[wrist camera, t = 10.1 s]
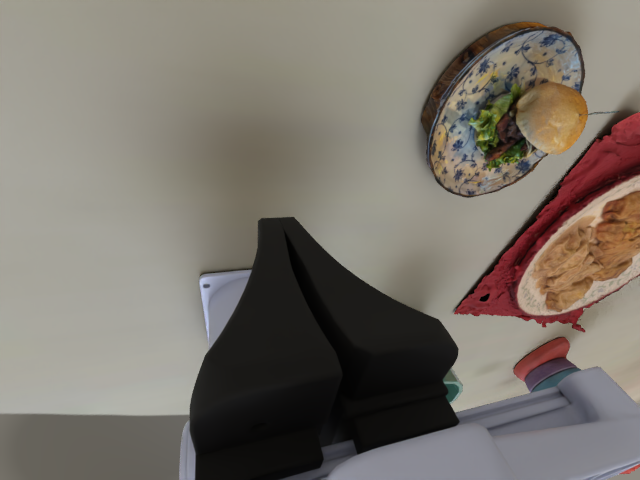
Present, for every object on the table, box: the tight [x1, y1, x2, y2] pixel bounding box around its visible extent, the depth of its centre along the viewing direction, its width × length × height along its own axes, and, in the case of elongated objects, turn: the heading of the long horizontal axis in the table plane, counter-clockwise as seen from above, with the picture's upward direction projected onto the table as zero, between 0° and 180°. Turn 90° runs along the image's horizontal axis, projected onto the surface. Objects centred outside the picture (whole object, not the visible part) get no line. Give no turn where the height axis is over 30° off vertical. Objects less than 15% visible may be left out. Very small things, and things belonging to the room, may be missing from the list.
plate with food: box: [454, 112, 640, 332], centre depth 37 cm, size 24×26×4 cm
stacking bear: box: [514, 337, 640, 474], centre depth 52 cm, size 11×10×18 cm
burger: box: [421, 22, 619, 197], centre depth 21 cm, size 12×12×8 cm
